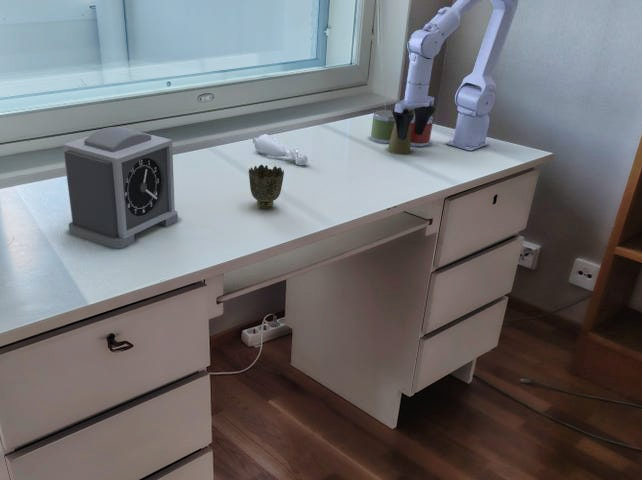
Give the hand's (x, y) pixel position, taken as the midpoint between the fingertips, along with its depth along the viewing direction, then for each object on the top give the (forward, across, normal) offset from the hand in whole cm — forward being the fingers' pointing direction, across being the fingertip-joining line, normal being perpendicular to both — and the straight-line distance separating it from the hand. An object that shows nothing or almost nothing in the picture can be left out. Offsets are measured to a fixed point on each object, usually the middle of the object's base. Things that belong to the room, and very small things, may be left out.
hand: (409, 136), depth 182 cm
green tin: (+4, +5, +12) cm, 14 cm away
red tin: (+4, +10, +4) cm, 12 cm away
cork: (+5, 0, +3) cm, 5 cm away
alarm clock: (+4, -86, +6) cm, 87 cm away
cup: (+4, -57, -4) cm, 58 cm away
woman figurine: (+5, -30, +18) cm, 36 cm away
